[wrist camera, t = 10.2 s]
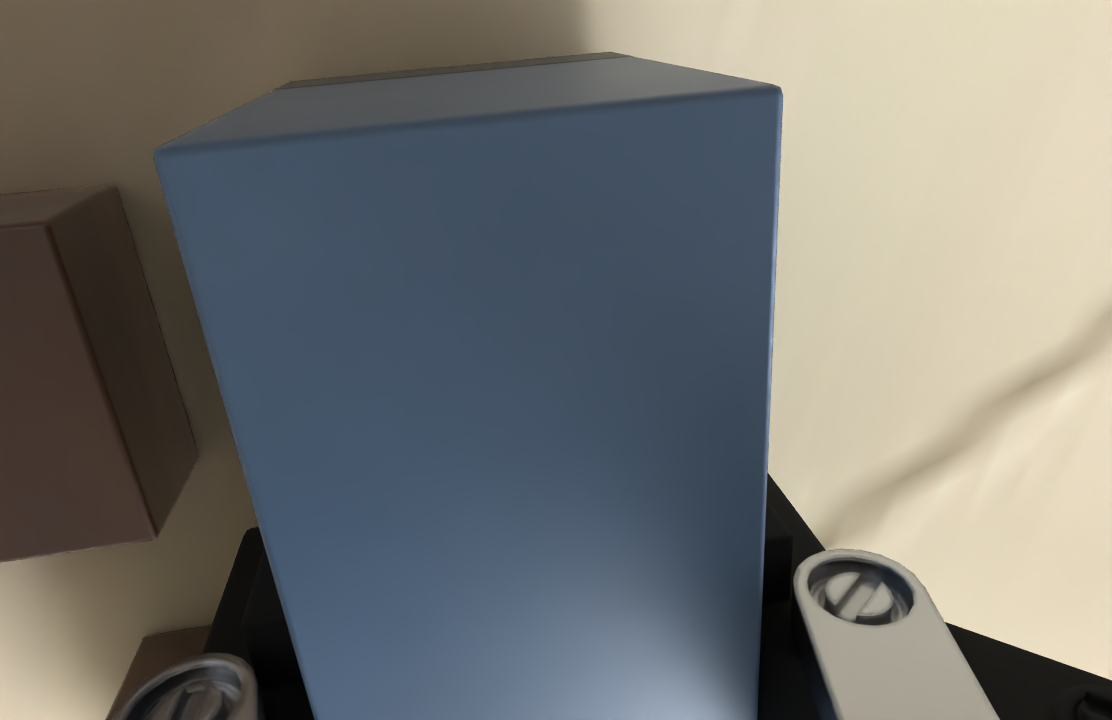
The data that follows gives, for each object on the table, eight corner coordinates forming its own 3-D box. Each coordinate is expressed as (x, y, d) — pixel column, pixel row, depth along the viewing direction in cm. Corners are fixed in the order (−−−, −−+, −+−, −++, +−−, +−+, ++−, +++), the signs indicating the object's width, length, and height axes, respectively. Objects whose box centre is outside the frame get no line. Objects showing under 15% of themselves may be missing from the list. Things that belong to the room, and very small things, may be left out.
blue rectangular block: (643, 731, 15) (745, 1067, 10) (431, 770, 14) (433, 1141, 10) (613, 50, 10) (789, 83, 5) (287, 81, 9) (144, 147, 5)
